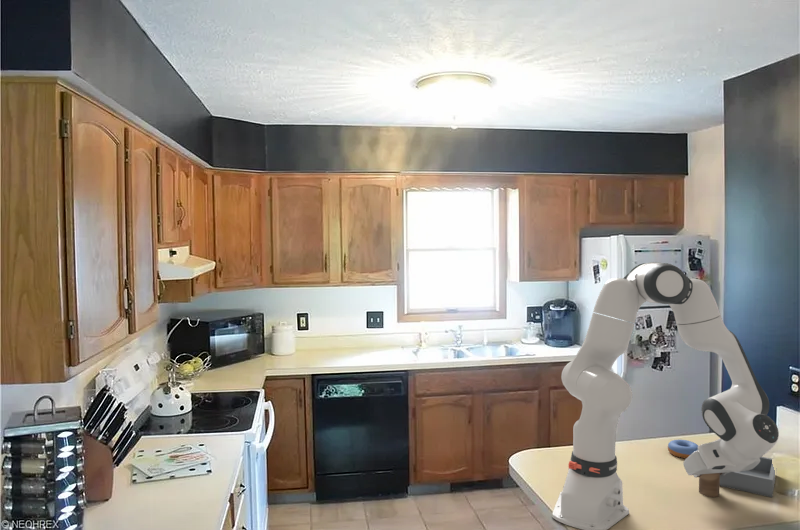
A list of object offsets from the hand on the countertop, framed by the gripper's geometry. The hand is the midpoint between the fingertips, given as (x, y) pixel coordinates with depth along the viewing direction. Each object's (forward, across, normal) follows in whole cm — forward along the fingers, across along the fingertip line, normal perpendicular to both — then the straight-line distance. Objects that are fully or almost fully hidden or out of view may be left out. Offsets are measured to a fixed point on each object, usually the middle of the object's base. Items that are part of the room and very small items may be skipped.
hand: (707, 473), depth 167 cm
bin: (+7, -17, 0) cm, 19 cm away
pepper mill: (+3, 0, +4) cm, 5 cm away
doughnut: (+23, -12, -15) cm, 30 cm away
